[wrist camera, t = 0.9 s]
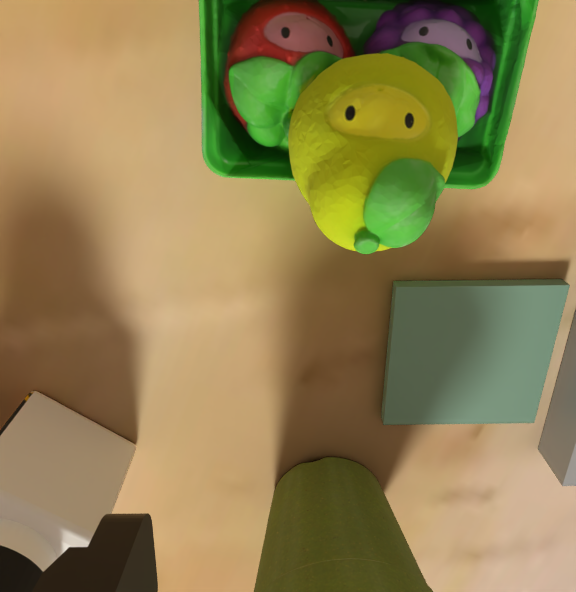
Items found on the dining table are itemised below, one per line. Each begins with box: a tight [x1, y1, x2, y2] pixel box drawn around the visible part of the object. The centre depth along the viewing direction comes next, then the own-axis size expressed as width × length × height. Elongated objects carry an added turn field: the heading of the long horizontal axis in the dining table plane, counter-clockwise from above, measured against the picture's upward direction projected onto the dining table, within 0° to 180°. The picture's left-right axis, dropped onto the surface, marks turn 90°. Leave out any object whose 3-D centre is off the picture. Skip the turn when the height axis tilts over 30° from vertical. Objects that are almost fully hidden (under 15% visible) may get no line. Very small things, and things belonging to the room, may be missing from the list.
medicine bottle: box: [0, 391, 136, 592], centre depth 25 cm, size 7×7×12 cm
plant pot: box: [254, 457, 433, 592], centre depth 28 cm, size 12×12×11 cm
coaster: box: [381, 279, 570, 425], centre depth 28 cm, size 9×9×1 cm
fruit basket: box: [199, 0, 539, 254], centre depth 17 cm, size 11×9×11 cm
